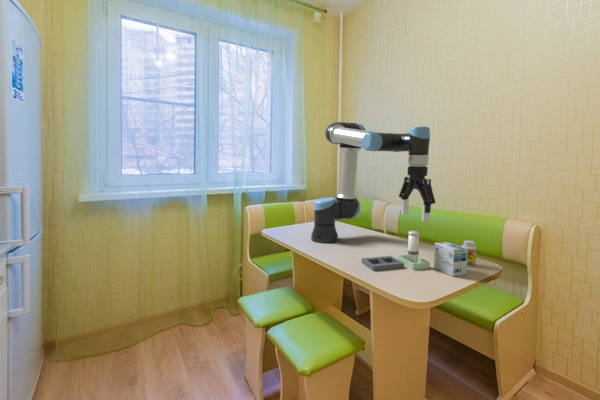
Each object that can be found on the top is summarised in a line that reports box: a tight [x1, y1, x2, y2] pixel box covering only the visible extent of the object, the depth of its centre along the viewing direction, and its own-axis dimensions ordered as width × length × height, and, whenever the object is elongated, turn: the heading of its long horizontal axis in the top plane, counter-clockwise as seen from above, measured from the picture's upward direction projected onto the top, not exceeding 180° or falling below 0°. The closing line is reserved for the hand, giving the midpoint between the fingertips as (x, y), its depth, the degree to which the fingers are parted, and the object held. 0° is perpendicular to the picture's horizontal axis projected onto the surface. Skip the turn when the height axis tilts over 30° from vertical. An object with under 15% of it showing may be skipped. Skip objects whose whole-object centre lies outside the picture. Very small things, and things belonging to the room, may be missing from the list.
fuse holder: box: [361, 255, 405, 272], centre depth 124 cm, size 10×14×2 cm
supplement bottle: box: [461, 239, 477, 267], centre depth 125 cm, size 6×6×10 cm
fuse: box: [407, 230, 420, 263], centre depth 124 cm, size 4×4×14 cm
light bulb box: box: [433, 241, 468, 277], centre depth 118 cm, size 11×7×11 cm, turn 17°
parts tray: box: [396, 254, 431, 271], centre depth 125 cm, size 11×8×3 cm
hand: (414, 217), depth 123 cm, fingers open, 13 cm apart
